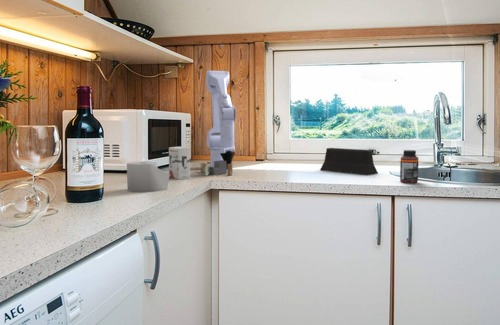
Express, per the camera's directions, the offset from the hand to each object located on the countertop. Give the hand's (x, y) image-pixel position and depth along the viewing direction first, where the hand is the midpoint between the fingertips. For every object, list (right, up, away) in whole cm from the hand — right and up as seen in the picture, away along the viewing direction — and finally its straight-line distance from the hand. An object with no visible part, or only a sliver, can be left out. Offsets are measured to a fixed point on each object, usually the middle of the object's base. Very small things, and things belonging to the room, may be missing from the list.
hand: (227, 169), depth 177 cm
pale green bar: (-8, -2, -4) cm, 9 cm away
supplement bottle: (+65, -4, -27) cm, 71 cm away
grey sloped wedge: (-23, -6, -42) cm, 48 cm away
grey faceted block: (-4, -2, -2) cm, 5 cm away
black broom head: (+51, -2, +4) cm, 51 cm away
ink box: (-18, -3, -14) cm, 23 cm away
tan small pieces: (-5, -2, -1) cm, 5 cm away
